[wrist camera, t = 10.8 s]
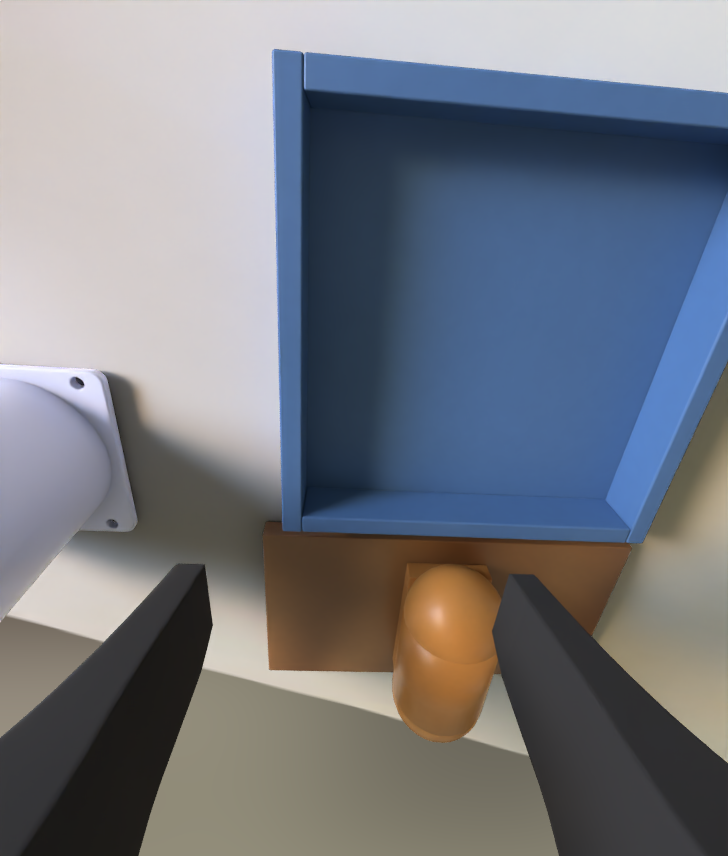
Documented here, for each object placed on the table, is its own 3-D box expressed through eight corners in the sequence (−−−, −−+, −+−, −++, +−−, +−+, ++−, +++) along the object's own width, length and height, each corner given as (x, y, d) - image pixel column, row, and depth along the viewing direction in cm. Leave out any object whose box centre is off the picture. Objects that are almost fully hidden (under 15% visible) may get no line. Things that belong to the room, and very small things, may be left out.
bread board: (271, 654, 25) (269, 670, 25) (266, 521, 21) (262, 534, 20) (566, 660, 26) (573, 676, 26) (621, 534, 22) (633, 547, 21)
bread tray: (290, 493, 20) (282, 531, 18) (286, 77, 13) (271, 47, 11) (609, 506, 21) (643, 544, 19) (765, 121, 14) (851, 103, 12)
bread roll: (385, 671, 25) (391, 762, 21) (403, 541, 20) (417, 624, 16) (463, 672, 25) (485, 763, 21) (498, 544, 21) (534, 627, 17)
